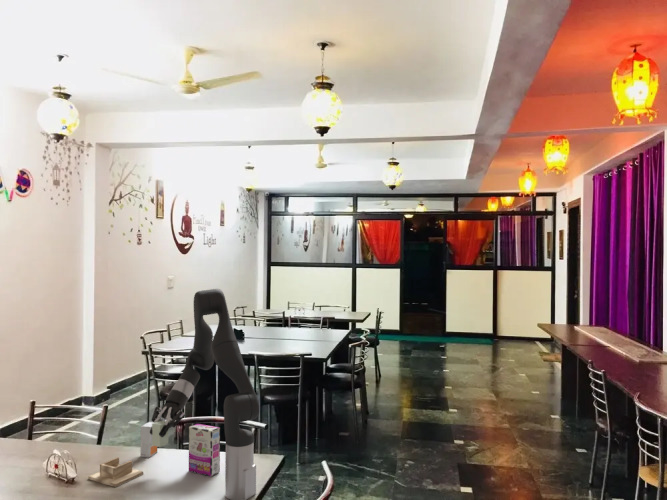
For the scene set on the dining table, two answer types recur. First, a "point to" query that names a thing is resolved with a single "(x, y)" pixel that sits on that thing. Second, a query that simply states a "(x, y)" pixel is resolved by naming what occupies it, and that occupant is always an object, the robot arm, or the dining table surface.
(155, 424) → the sage peg
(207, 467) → the candy bar box
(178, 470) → the dining table surface
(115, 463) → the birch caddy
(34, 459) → the dining table surface
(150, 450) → the skincare box
